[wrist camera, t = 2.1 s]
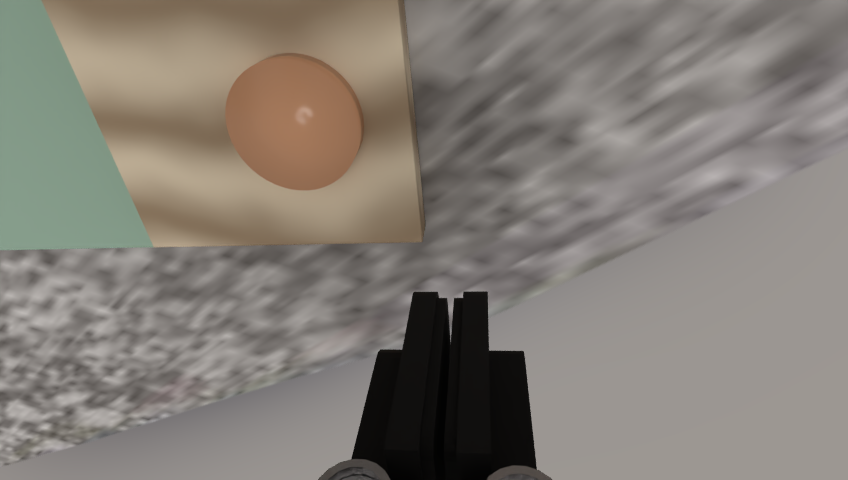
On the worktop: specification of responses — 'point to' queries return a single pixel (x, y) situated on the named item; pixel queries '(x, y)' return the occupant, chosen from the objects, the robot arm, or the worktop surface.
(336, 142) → the brown round disc
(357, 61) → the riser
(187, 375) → the worktop surface
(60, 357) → the worktop surface
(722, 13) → the worktop surface
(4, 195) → the mat
